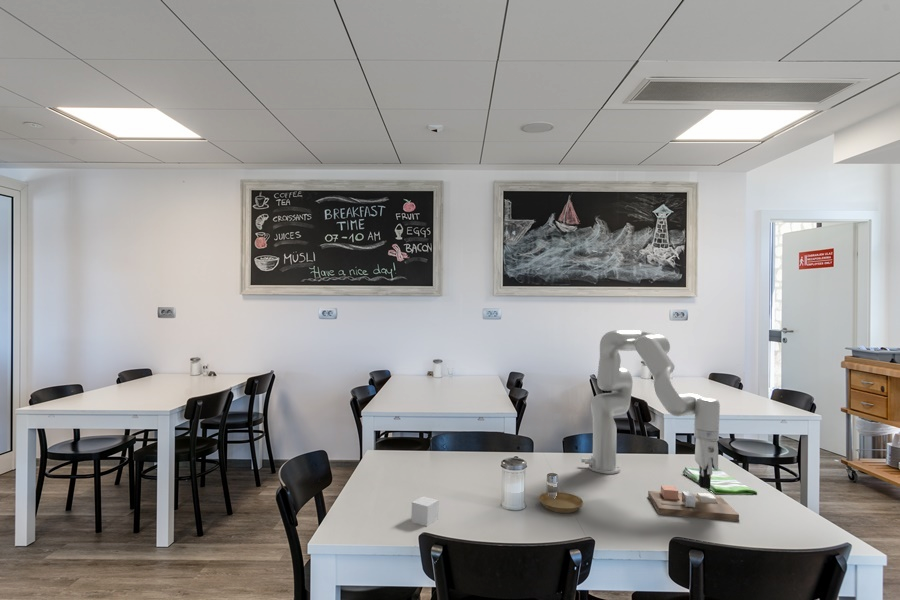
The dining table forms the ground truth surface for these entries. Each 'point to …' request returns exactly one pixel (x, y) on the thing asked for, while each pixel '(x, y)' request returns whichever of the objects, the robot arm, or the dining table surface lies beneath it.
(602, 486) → the dining table surface
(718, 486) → the dish towel
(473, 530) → the dining table surface
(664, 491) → the terracotta button
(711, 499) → the cream button
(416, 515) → the white cube
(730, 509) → the switch board
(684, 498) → the slider knob
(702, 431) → the robot arm
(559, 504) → the plant saucer
